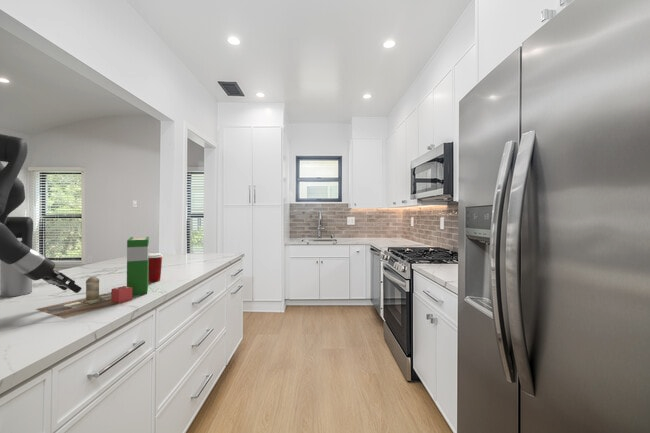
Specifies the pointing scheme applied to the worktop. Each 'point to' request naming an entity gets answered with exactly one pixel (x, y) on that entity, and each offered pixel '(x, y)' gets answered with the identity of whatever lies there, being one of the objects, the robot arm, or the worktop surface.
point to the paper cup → (155, 267)
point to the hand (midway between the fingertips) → (73, 289)
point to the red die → (121, 294)
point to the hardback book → (138, 265)
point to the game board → (78, 306)
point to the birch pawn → (92, 290)
